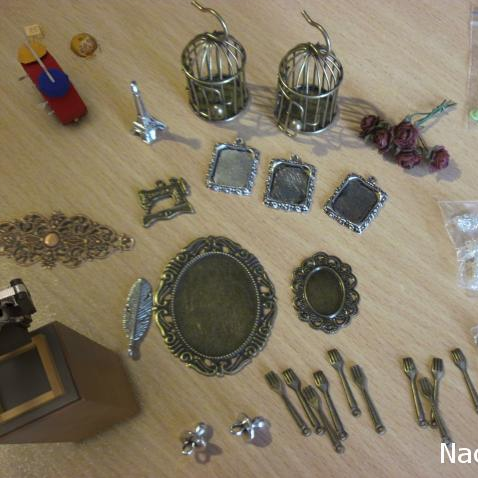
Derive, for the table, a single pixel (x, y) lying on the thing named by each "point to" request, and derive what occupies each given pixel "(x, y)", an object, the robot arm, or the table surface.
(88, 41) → the fruit
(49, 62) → the red and blue toy
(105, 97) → the table surface
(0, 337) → the dark brown block
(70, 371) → the stand
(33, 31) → the alphabet block
